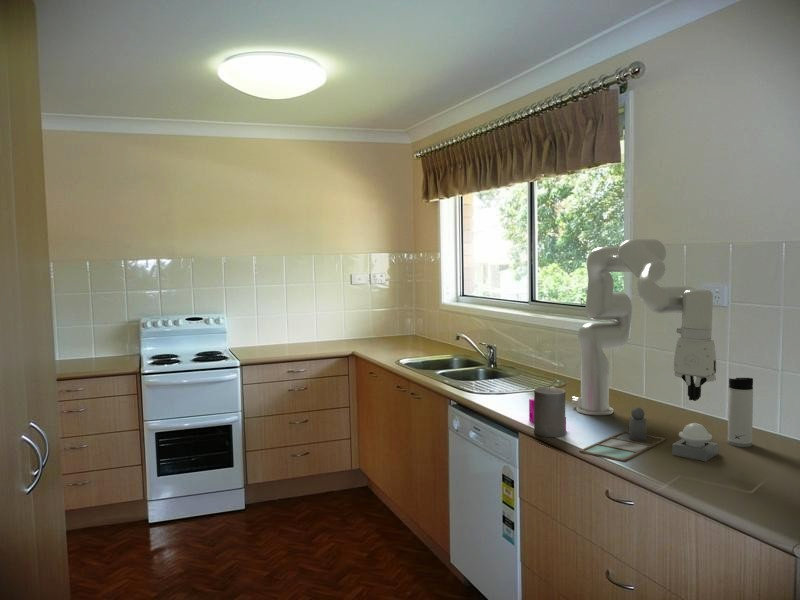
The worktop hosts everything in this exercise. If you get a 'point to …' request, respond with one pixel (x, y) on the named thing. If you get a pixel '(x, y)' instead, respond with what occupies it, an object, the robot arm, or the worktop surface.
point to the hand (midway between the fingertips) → (694, 399)
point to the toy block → (531, 411)
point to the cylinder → (637, 425)
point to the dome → (695, 435)
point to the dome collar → (695, 450)
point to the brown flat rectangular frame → (619, 447)
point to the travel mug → (740, 412)
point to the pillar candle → (549, 412)
